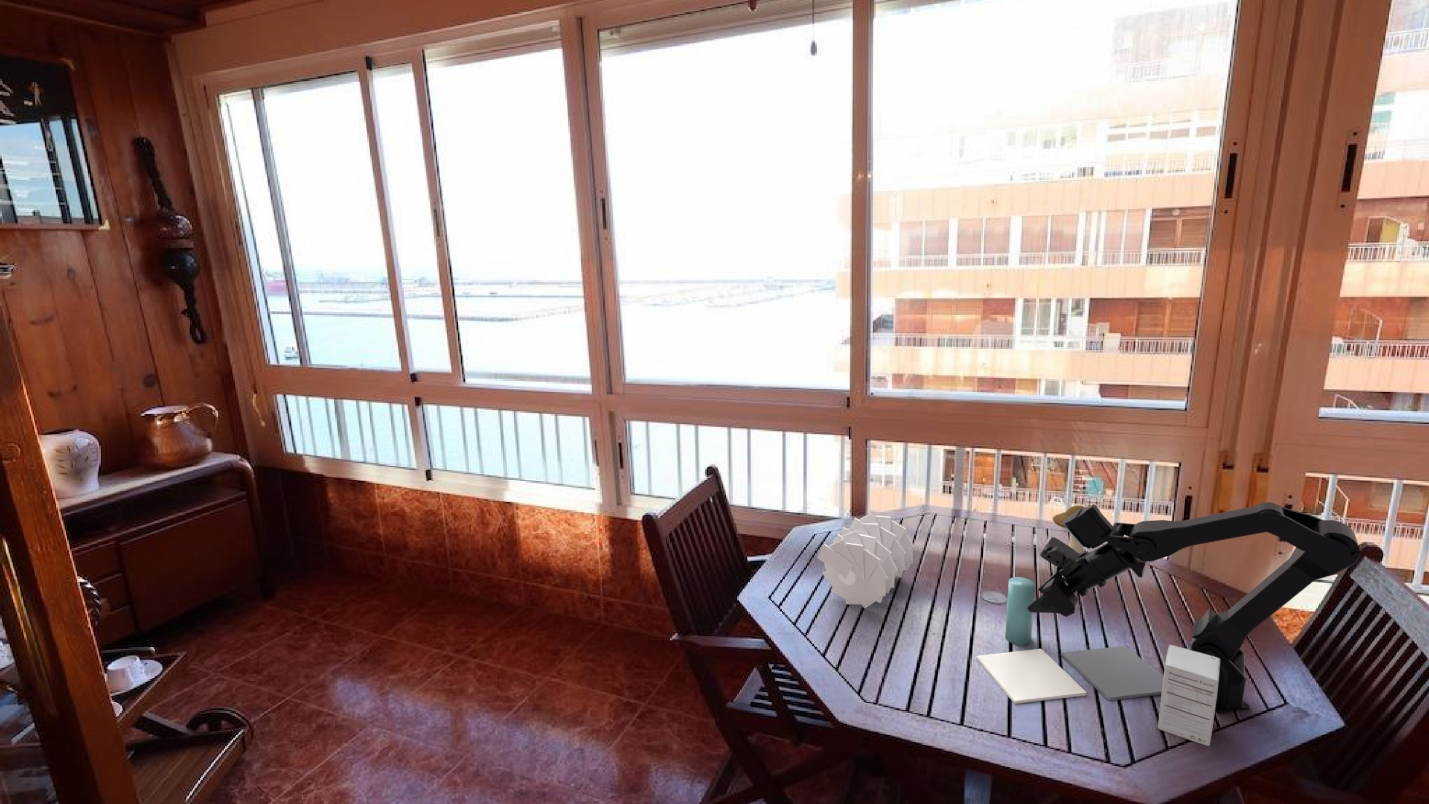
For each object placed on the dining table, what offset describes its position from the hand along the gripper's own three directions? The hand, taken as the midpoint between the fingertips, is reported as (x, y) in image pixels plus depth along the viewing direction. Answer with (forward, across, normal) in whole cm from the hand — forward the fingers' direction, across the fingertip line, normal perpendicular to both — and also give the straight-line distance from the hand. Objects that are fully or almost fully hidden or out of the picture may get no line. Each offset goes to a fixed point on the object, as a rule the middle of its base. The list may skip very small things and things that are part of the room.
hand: (1034, 600), depth 136 cm
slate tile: (-4, +1, +18) cm, 19 cm away
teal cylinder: (+9, 0, +5) cm, 10 cm away
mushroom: (+7, -46, +7) cm, 47 cm away
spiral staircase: (+34, -1, -19) cm, 39 cm away
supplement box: (-12, +11, +26) cm, 31 cm away
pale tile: (+5, +12, +9) cm, 16 cm away
